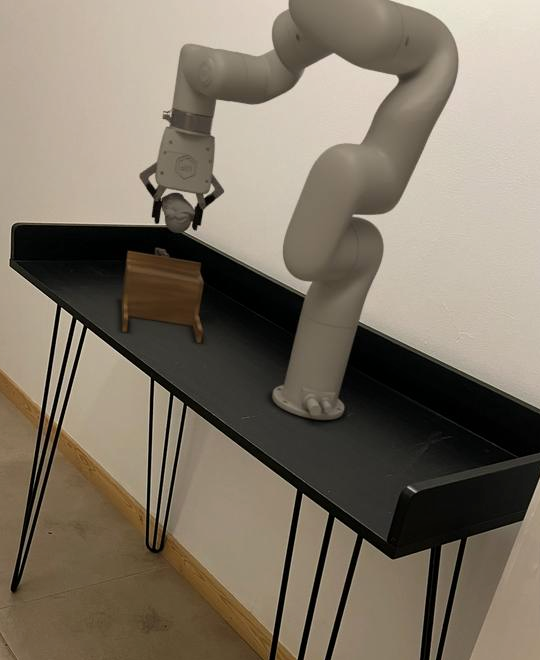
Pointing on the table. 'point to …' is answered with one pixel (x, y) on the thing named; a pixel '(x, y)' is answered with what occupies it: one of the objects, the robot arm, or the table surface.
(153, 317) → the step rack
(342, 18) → the robot arm
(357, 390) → the table surface
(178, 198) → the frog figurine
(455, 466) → the table surface
